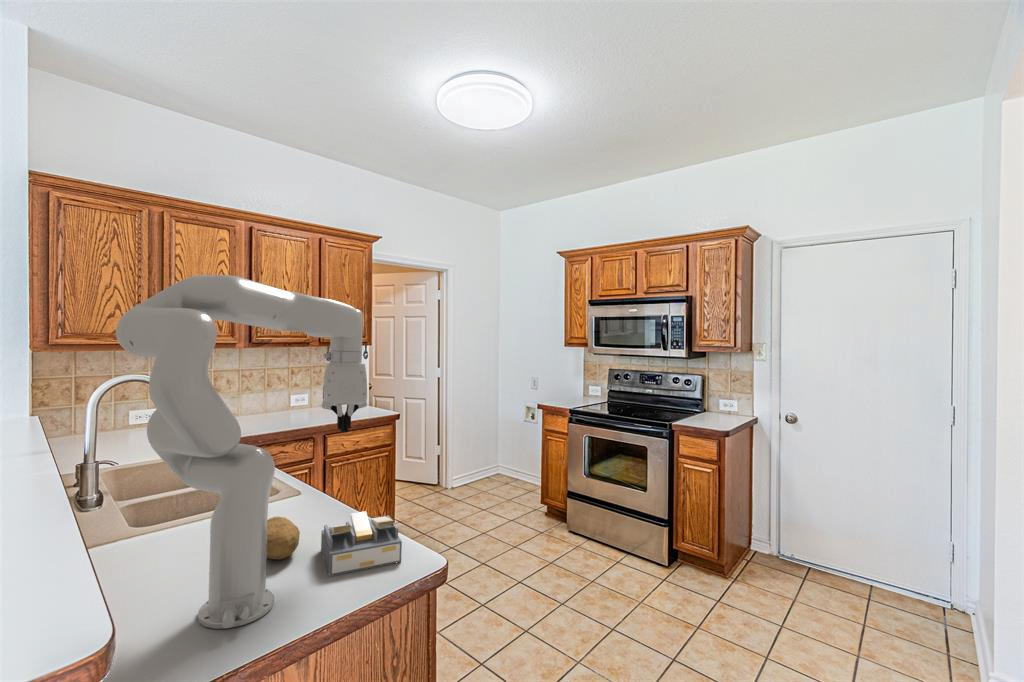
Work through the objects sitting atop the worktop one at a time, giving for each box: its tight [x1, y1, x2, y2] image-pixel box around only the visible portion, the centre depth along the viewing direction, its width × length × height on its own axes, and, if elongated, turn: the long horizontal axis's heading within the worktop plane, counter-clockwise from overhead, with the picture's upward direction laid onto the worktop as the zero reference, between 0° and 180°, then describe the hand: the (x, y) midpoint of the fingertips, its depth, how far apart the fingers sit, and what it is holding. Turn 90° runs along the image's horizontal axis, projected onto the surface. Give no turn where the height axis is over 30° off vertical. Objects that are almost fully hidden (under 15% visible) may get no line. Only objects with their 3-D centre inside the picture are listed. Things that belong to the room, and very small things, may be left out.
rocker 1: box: [328, 524, 352, 534], centre depth 113 cm, size 8×4×1 cm, turn 29°
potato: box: [266, 516, 301, 561], centre depth 114 cm, size 10×14×8 cm
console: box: [320, 514, 403, 577], centre depth 115 cm, size 14×16×7 cm
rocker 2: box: [350, 510, 372, 541], centre depth 115 cm, size 8×4×1 cm, turn 28°
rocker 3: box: [370, 515, 395, 529], centre depth 118 cm, size 8×4×1 cm, turn 29°
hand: (343, 431), depth 120 cm, fingers closed
